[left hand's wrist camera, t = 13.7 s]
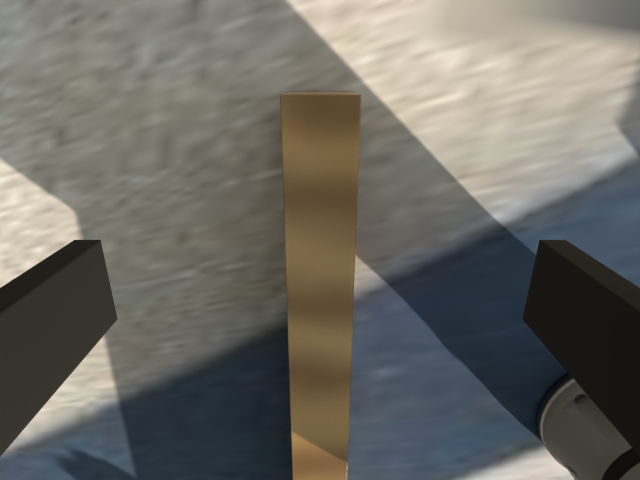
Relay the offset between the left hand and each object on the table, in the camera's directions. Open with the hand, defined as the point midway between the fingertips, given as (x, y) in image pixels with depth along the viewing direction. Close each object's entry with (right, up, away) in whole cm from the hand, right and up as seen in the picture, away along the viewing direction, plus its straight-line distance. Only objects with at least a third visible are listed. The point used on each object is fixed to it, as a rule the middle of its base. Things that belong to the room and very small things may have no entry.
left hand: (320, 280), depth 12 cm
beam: (0, -17, +34) cm, 38 cm away
